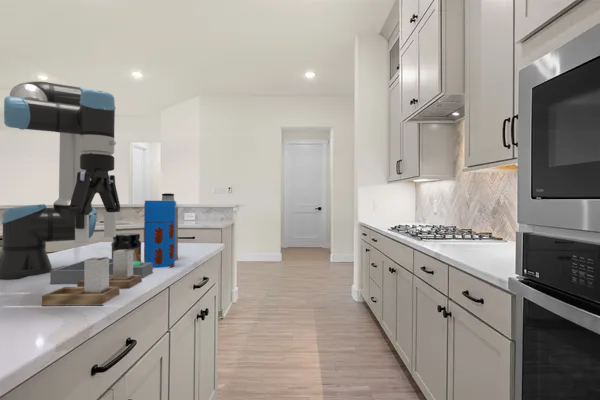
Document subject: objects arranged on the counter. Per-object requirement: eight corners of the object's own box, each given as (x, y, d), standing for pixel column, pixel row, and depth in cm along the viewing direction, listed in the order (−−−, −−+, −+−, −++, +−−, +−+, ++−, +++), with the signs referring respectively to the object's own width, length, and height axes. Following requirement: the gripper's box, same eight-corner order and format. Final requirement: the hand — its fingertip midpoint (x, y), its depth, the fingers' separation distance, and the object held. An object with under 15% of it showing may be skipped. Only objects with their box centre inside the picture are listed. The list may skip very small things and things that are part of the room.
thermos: (180, 265, 142) (181, 200, 142) (161, 270, 132) (162, 200, 132) (157, 263, 146) (158, 200, 146) (137, 268, 136) (137, 200, 136)
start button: (124, 272, 118) (124, 262, 118) (130, 270, 122) (130, 260, 122) (137, 272, 118) (137, 262, 118) (142, 269, 122) (142, 260, 122)
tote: (50, 286, 107) (50, 270, 107) (90, 271, 129) (90, 258, 129) (92, 285, 108) (92, 270, 108) (125, 271, 130) (125, 258, 130)
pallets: (41, 306, 87) (41, 295, 87) (94, 283, 111) (94, 275, 111) (102, 306, 87) (102, 295, 87) (141, 283, 111) (141, 275, 111)
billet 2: (113, 286, 105) (113, 251, 105) (119, 283, 109) (119, 249, 109) (127, 286, 105) (127, 250, 105) (133, 283, 109) (133, 249, 109)
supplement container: (133, 267, 137) (133, 235, 137) (105, 267, 137) (105, 235, 137) (146, 262, 148) (146, 233, 148) (120, 262, 148) (120, 232, 148)
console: (113, 280, 115) (113, 267, 115) (125, 274, 124) (125, 262, 124) (142, 280, 116) (142, 267, 116) (152, 274, 125) (152, 262, 125)
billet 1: (84, 301, 89) (84, 259, 90) (92, 296, 93) (93, 256, 94) (101, 301, 90) (101, 259, 90) (108, 296, 94) (109, 256, 94)
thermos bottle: (163, 258, 159) (163, 193, 159) (180, 258, 159) (181, 193, 159) (154, 261, 151) (154, 193, 151) (172, 261, 151) (172, 193, 151)
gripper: (85, 148, 79) (85, 246, 80) (133, 159, 104) (132, 234, 104) (50, 147, 79) (49, 246, 79) (106, 159, 104) (105, 234, 104)
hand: (96, 239), depth 92 cm, fingers open, 13 cm apart
